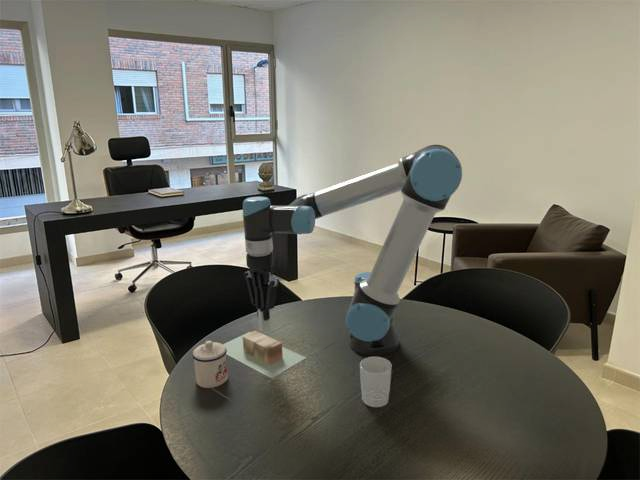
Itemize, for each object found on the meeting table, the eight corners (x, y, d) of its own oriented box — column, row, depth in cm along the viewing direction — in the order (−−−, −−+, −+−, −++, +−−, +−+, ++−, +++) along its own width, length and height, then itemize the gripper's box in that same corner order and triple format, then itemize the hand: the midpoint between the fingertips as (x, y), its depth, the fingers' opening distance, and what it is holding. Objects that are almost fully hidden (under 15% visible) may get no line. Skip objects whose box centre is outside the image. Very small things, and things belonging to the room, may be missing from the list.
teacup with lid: (222, 390, 123) (218, 351, 119) (190, 388, 124) (185, 349, 121) (237, 366, 134) (234, 329, 131) (207, 364, 136) (203, 328, 132)
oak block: (256, 345, 145) (282, 357, 137) (243, 351, 141) (270, 364, 134) (255, 330, 144) (281, 342, 136) (242, 336, 140) (269, 349, 132)
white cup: (370, 413, 112) (371, 376, 109) (353, 395, 119) (353, 361, 116) (397, 403, 116) (398, 367, 113) (379, 387, 122) (379, 353, 120)
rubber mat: (306, 358, 137) (306, 357, 137) (271, 379, 127) (271, 378, 127) (249, 332, 154) (249, 331, 154) (214, 349, 144) (214, 348, 144)
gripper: (234, 251, 131) (240, 327, 137) (264, 260, 122) (269, 340, 129) (254, 245, 136) (259, 318, 143) (285, 253, 128) (289, 330, 134)
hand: (264, 328), depth 136 cm, fingers closed
